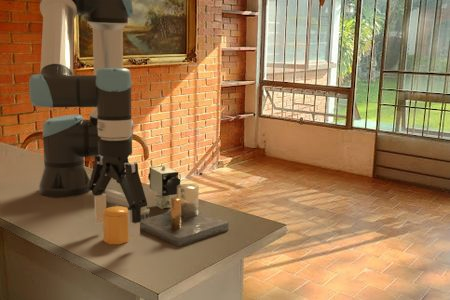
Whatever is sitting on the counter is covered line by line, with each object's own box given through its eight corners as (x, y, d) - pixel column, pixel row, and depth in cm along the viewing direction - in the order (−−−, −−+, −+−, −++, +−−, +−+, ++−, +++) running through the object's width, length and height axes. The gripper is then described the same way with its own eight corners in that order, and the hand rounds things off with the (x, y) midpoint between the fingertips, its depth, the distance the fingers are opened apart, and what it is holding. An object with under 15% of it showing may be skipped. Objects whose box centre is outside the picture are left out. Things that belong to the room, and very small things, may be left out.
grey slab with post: (137, 228, 123) (137, 192, 121) (186, 214, 134) (186, 181, 132) (179, 246, 112) (179, 207, 110) (228, 229, 123) (229, 194, 121)
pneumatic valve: (165, 214, 134) (165, 171, 131) (147, 202, 143) (147, 162, 141) (183, 211, 137) (183, 169, 134) (164, 200, 146) (165, 160, 144)
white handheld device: (110, 185, 146) (152, 194, 127) (112, 207, 147) (154, 220, 127) (94, 188, 143) (134, 197, 124) (96, 211, 144) (136, 223, 124)
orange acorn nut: (99, 239, 115) (99, 209, 113) (120, 233, 119) (119, 204, 117) (113, 246, 111) (112, 215, 110) (133, 239, 115) (133, 210, 113)
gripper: (71, 132, 116) (74, 218, 120) (133, 147, 99) (135, 247, 103) (99, 129, 121) (101, 212, 125) (163, 143, 104) (163, 238, 108)
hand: (116, 228), depth 114 cm, fingers open, 13 cm apart
